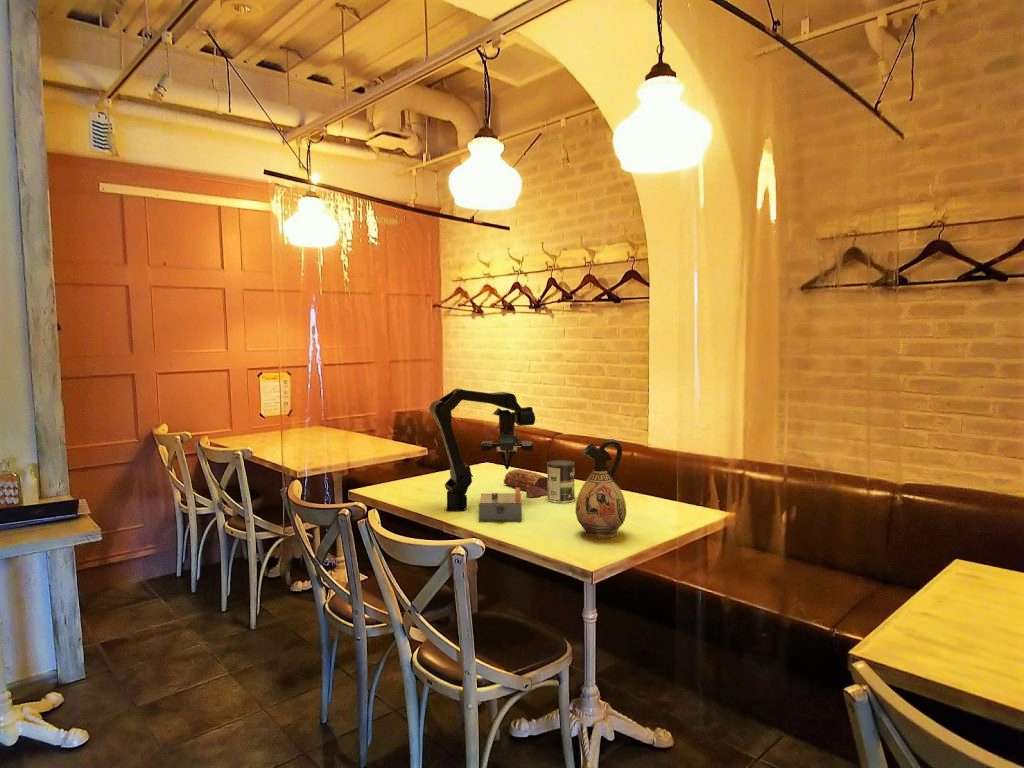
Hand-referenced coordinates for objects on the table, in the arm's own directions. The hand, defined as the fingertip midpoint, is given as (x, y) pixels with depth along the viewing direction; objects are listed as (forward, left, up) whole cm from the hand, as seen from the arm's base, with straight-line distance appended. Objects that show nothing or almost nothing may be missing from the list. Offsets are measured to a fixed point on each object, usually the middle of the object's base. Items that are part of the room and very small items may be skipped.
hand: (507, 469), depth 234 cm
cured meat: (+9, +20, -13) cm, 26 cm away
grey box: (-2, -17, -12) cm, 21 cm away
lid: (-2, -17, -7) cm, 19 cm away
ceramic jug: (+30, -38, -13) cm, 50 cm away
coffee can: (+20, +4, -13) cm, 24 cm away
